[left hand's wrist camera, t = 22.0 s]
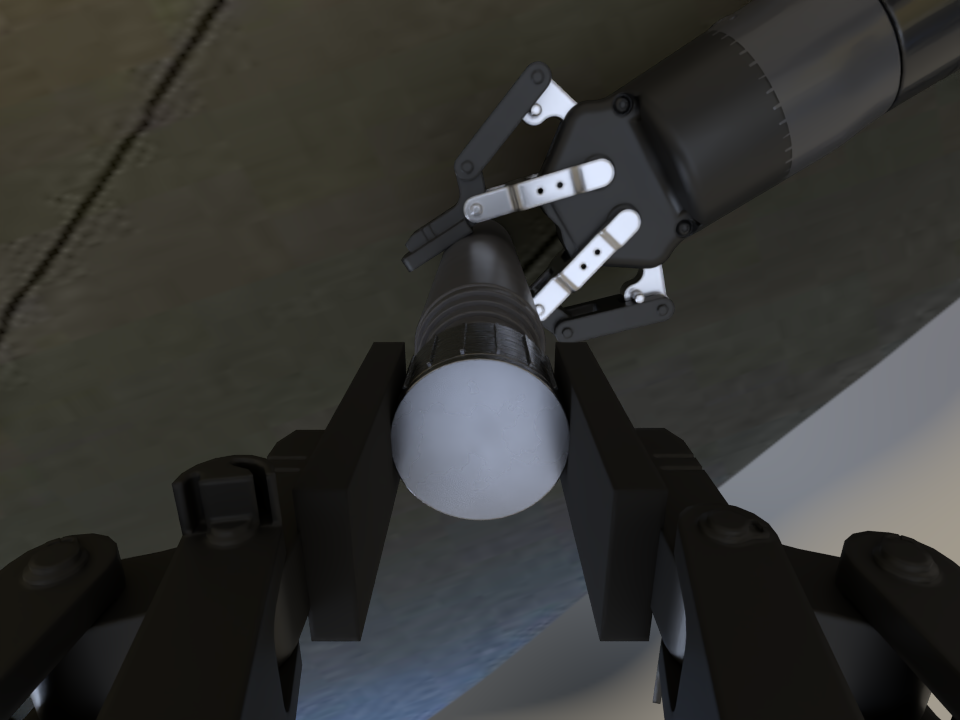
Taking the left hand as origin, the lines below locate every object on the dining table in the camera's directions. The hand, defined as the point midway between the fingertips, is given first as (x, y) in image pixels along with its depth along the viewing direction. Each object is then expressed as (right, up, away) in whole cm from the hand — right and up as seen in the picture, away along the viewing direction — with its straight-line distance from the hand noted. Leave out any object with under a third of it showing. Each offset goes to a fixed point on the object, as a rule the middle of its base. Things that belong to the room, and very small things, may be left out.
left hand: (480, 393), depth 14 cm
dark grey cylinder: (0, +7, +20) cm, 22 cm away
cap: (0, -1, -2) cm, 2 cm away
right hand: (-2, +4, +15) cm, 15 cm away
